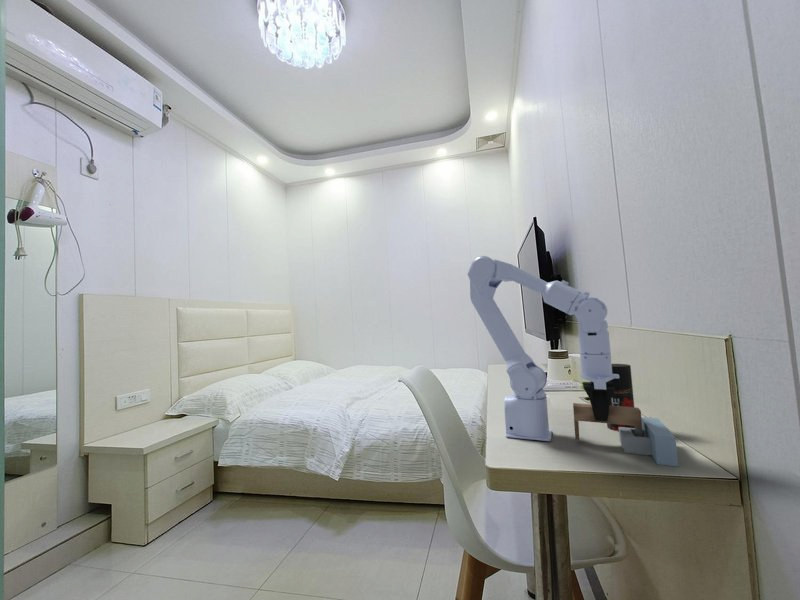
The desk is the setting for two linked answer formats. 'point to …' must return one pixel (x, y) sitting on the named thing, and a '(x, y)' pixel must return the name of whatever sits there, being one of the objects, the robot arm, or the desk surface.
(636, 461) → the desk surface
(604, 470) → the desk surface
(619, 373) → the deodorant
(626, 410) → the rail
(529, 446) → the desk surface
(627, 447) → the light blue holder
